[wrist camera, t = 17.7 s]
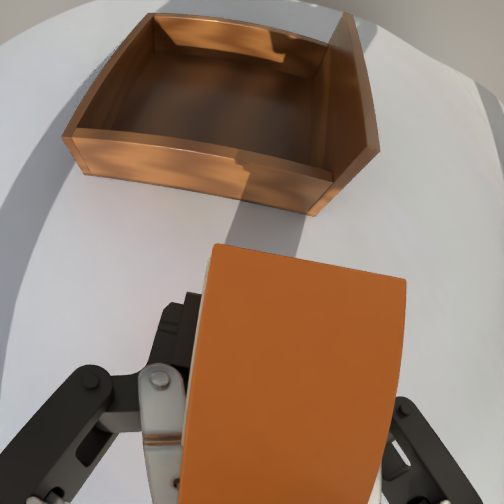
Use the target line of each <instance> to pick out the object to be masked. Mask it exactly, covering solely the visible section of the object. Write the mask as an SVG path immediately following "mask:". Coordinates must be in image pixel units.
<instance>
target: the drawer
mask: <svg viewBox="0 0 504 504" xmlns="http://www.w3.org/2000/svg"><path fill="white" fill-rule="evenodd" d="M62 139H63V141H64V142H65V144H66V146H67V147H68V149H69V151H70V152H71V154H72V156H73V157H74V159H75V161H76V162H77V164H78V166H79V167H80V169H81V170H82V172H83V174H84V175H91V176H99V177H106V178H113V179H120V180H127V181H133V182H140V183H146V184H152V185H159V186H165V187H171V188H176V189H182V190H188V191H193V192H199V193H204V194H210V195H215V196H220V197H225V198H230V199H236V200H241V201H245V202H250V203H255V204H260V205H265V206H269V207H274V208H279V209H283V210H288V211H292V212H297V213H301V214H305V215H310V216H316V215H317V214H318V213H319V212H320V211H321V210H322V209H323V208H324V207H325V206H326V205H327V204H328V203H329V202H330V201H331V200H332V199H333V198H334V197H335V196H336V195H337V194H338V193H339V192H340V191H341V190H342V189H343V188H344V187H345V186H346V185H347V184H348V183H349V182H350V181H351V180H352V179H353V178H354V177H355V176H356V175H357V174H358V173H359V172H360V171H361V170H362V169H363V168H364V167H365V166H366V165H367V164H368V163H369V162H370V161H371V160H372V159H373V158H374V157H375V156H376V155H377V154H378V153H379V152H380V145H379V137H378V130H377V123H376V116H375V110H374V104H373V98H372V93H371V88H370V83H369V78H368V73H367V68H366V64H365V60H364V55H363V51H362V47H361V43H360V40H359V36H358V32H357V29H356V25H355V22H354V18H353V15H351V14H348V13H346V12H344V13H343V15H342V17H341V19H340V21H339V23H338V25H337V27H336V29H335V31H334V33H333V35H332V37H331V39H330V41H329V43H328V44H327V43H325V42H322V41H319V40H316V39H313V38H309V37H306V36H303V35H299V34H296V33H292V32H288V31H284V30H280V29H276V28H272V27H268V26H263V25H258V24H253V23H248V22H243V21H237V20H231V19H224V18H217V17H209V16H199V15H188V14H171V13H147V15H146V16H145V17H144V18H143V19H142V20H141V21H140V22H139V23H138V25H137V26H136V27H135V28H134V29H133V30H132V32H131V33H130V34H129V35H128V36H127V38H126V39H125V40H124V41H123V42H122V44H121V45H120V46H119V47H118V49H117V50H116V51H115V53H114V54H113V55H112V57H111V58H110V59H109V61H108V62H107V63H106V65H105V66H104V68H103V69H102V70H101V72H100V73H99V75H98V76H97V78H96V79H95V81H94V82H93V84H92V85H91V87H90V88H89V90H88V91H87V93H86V95H85V96H84V98H83V99H82V101H81V103H80V104H79V106H78V108H77V109H76V111H75V113H74V115H73V116H72V118H71V120H70V122H69V124H68V125H67V127H66V129H65V131H64V133H63V135H62Z"/></svg>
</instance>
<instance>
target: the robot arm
mask: <svg viewBox="0 0 504 504" xmlns="http://www.w3.org/2000/svg"><path fill="white" fill-rule="evenodd" d="M201 297H202V294H197V293H191V292H187V293H186V297H185V301H184V304H179V303H174V302H171V303H170V304H169V305H168V306H167V307H166V308H165V309H164V310H163V312H162V316H161V319H160V322H159V325H158V330H157V332H156V335H155V339H154V342H153V346H152V349H151V353H150V356H149V360H148V362H147V364H146V366H145V367H144V368H143V369H142V370H140V371H139V372H137V373H134V374H131V375H117V376H110V374H109V373H108V372H107V371H106V370H105V369H104V368H102V367H100V366H97V365H84V366H81V367H79V368H77V369H76V370H75V371H74V372H73V373H72V374H71V375H70V376H69V377H68V378H67V379H66V380H65V381H64V383H63V384H62V385H61V386H60V387H59V388H58V389H57V390H56V391H55V392H54V393H53V394H52V396H51V397H50V398H49V399H48V400H47V401H46V402H45V403H44V404H43V405H42V407H41V408H40V409H39V410H38V411H37V412H36V413H35V414H34V415H33V417H32V418H31V419H30V420H29V421H28V422H27V423H26V425H25V426H24V427H23V428H22V429H21V430H20V431H19V433H18V434H17V435H16V436H15V437H14V438H13V440H12V441H11V442H10V443H9V444H8V445H7V447H6V448H5V449H4V450H3V451H2V453H1V454H0V504H71V503H70V502H71V501H72V500H73V498H74V497H75V495H76V494H77V493H78V491H79V490H80V488H81V487H82V485H83V484H84V483H85V481H86V480H87V478H88V477H89V475H90V474H91V473H92V471H93V470H94V468H95V467H96V466H97V464H98V463H99V461H100V460H101V458H102V457H103V456H104V454H105V453H106V451H107V450H108V448H109V447H110V446H111V444H112V443H113V441H114V440H115V439H116V437H117V436H118V434H119V433H120V432H139V431H142V436H143V449H144V456H145V463H146V469H147V476H148V481H149V487H150V492H151V497H152V502H153V504H178V494H179V489H177V484H178V483H179V482H180V472H181V462H182V452H183V446H182V445H181V439H182V430H183V421H184V413H185V405H186V397H187V389H188V382H189V375H190V368H191V361H192V354H193V347H194V341H195V334H196V328H197V321H198V315H199V309H200V303H201ZM394 440H396V441H397V443H398V444H399V446H400V447H401V449H402V450H403V452H404V453H405V455H406V456H407V458H408V459H409V461H410V463H411V466H408V465H406V464H405V462H404V461H403V459H402V458H401V456H400V455H399V453H398V452H397V450H396V449H395V447H394V446H393V444H392V442H393V441H394ZM381 491H382V493H383V494H384V496H385V497H386V499H387V501H388V502H389V504H483V502H482V500H481V498H480V497H479V495H478V494H477V492H476V491H475V489H474V488H473V486H472V485H471V483H470V482H469V480H468V479H467V477H466V476H465V474H464V473H463V471H462V470H461V468H460V467H459V466H458V464H457V463H456V461H455V460H454V458H453V457H452V455H451V454H450V453H449V451H448V450H447V448H446V447H445V446H444V444H443V443H442V441H441V440H440V438H439V437H438V436H437V434H436V433H435V432H434V430H433V429H432V427H431V426H430V425H429V423H428V422H427V420H426V419H425V418H424V416H423V415H422V414H421V412H420V411H419V410H418V408H417V407H416V406H415V404H414V403H413V402H412V401H411V400H409V399H408V398H405V397H396V398H395V404H394V409H393V414H392V419H391V424H390V428H389V433H388V437H387V441H386V445H385V449H384V453H383V457H382V460H381V464H380V468H379V471H378V474H377V478H376V481H375V484H374V487H373V490H372V493H371V496H370V499H369V502H368V504H381Z"/></svg>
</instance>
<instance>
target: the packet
mask: <svg viewBox="0 0 504 504" xmlns="http://www.w3.org/2000/svg"><path fill="white" fill-rule="evenodd" d="M405 308H406V280H405V279H402V278H397V277H392V276H387V275H381V274H376V273H371V272H366V271H361V270H355V269H350V268H345V267H340V266H334V265H329V264H324V263H319V262H313V261H308V260H303V259H298V258H292V257H287V256H282V255H276V254H271V253H266V252H261V251H255V250H250V249H245V248H239V247H234V246H229V245H224V244H215V245H214V246H213V250H212V255H211V258H209V259H208V263H207V269H206V274H205V280H204V286H203V291H202V297H201V303H200V309H199V315H198V321H197V328H196V334H195V341H194V347H193V354H192V361H191V368H190V375H189V382H188V389H187V397H186V405H185V413H184V421H183V430H182V439H181V445H182V446H183V452H182V462H181V472H180V482H179V483H178V484H177V489H179V494H178V504H368V502H369V499H370V496H371V493H372V490H373V487H374V484H375V481H376V478H377V474H378V471H379V468H380V464H381V460H382V457H383V453H384V449H385V445H386V441H387V437H388V433H389V428H390V424H391V419H392V414H393V409H394V404H395V398H396V392H397V386H398V379H399V372H400V365H401V357H402V347H403V337H404V325H405Z"/></svg>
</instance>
